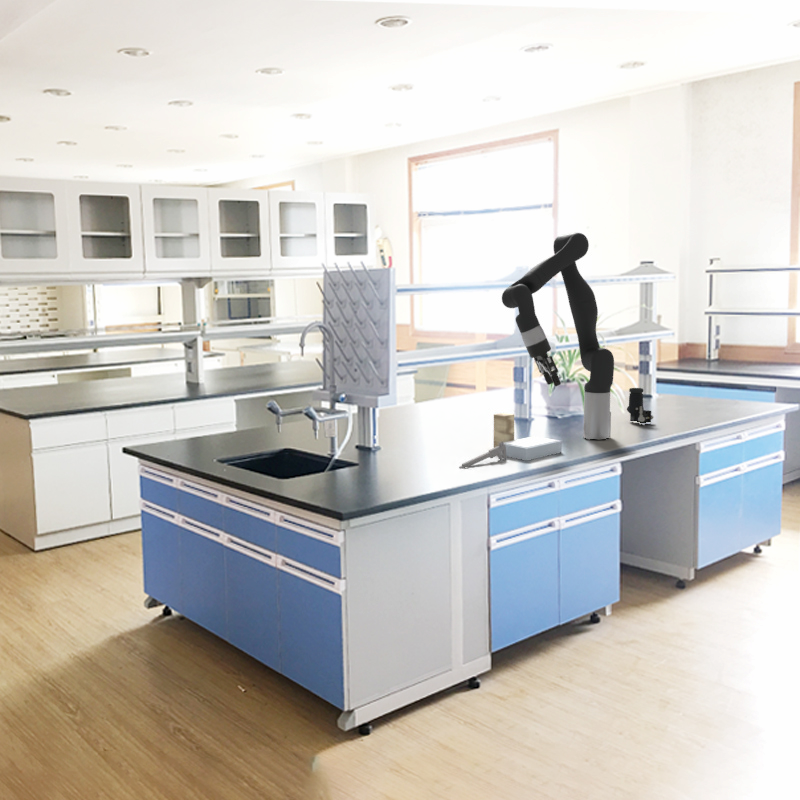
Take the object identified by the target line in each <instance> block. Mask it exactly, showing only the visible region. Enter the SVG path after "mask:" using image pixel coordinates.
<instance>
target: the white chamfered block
mask: <svg viewBox="0 0 800 800" xmlns="http://www.w3.org/2000/svg"><path fill="white" fill-rule="evenodd" d="M562 442H563V440H559V439H553V438H547V437H541V436H537V435H533V436H529V437H523V438H518V439H514V440H513V441H508V442H504V444H505V446H506V458H507V457H508V458H511V457H512V458H511V459H516V458H517V459H518V460H521V459H522V461H532V460H536V459H541V458H544V457H548V456H547V455H549V456H552V455H551V454H553V455H556V453H557V454H561V453H560V452H562V447H563V445H562V444H563V443H562ZM501 453H502V451H501ZM543 456H544V457H543ZM531 459H532V460H531Z"/></svg>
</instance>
